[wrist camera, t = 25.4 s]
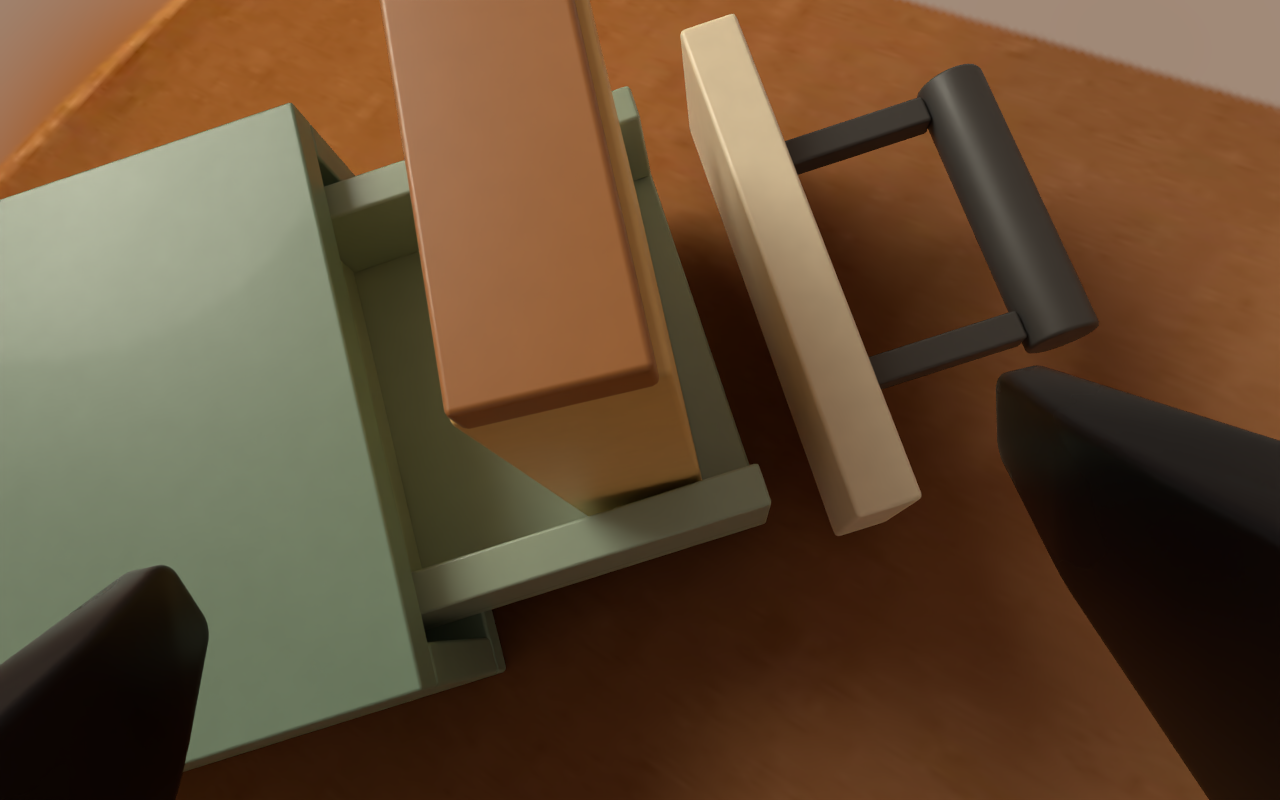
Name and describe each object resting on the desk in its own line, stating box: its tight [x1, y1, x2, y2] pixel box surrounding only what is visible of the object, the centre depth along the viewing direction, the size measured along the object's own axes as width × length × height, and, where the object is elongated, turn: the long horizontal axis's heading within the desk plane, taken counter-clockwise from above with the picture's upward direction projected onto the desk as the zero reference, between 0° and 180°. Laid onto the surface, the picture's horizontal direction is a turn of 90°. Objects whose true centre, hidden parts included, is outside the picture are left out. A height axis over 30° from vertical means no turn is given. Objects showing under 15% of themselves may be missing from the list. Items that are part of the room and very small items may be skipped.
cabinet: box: [0, 103, 506, 772], centre depth 19 cm, size 12×12×6 cm
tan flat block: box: [380, 0, 702, 516], centre depth 15 cm, size 7×2×10 cm, turn 12°
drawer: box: [324, 14, 1099, 630], centre depth 19 cm, size 15×10×4 cm
